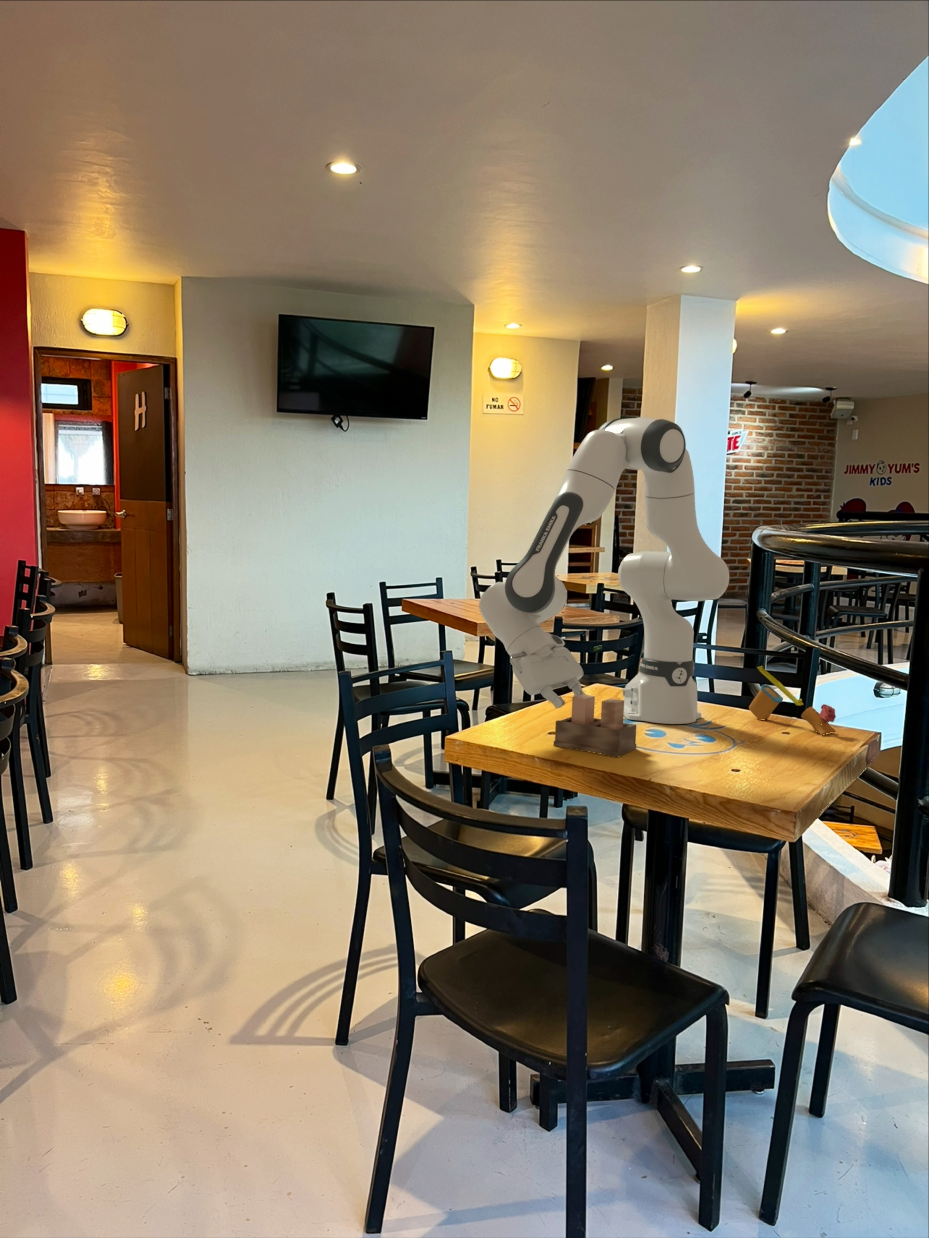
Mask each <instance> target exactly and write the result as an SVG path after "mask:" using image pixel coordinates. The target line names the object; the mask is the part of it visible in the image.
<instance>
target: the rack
mask: <svg viewBox="0 0 929 1238" xmlns="http://www.w3.org/2000/svg"><path fill="white" fill-rule="evenodd" d="M600 708H601V710H600V711H601V712H600V714H601V715H600V718H597V717H596V718H595V717H594V723H591V724H589V725H583V724H577V723H571V720H572V716H570V717H567V718H564V719H562V720H561V719H560V720H558V719H557V720H555V728H554V729H555V730H554V731H555V732H554V734H555V735H554V740H553V747H557V746H559V747H558V748H563V747H566V748H565V749H568V748H572V749H571V750H574V749H578V750H577V751H579V750H583V751H582V752H584V751H590V752H595V753H601V754H605V755H604V756H606V755H610V756H609V757H612V756H615V757H614V758H619V757H618V756H620V757H622V756H624V755H626V754H628V753H631V752H633V751H635V750H636V749H637V743H636V739H637V724H633V723H627V722H624V717H625V716H624V699H618V698H608V699H605V700H602V701H601V707H600ZM634 749H635V750H634ZM590 752H589V753H590ZM595 753H594V754H595ZM625 753H626V754H625ZM601 754H600V755H601ZM623 754H624V755H623ZM621 755H622V756H621Z"/></svg>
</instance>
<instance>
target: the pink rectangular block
mask: <svg viewBox="0 0 929 1238" xmlns="http://www.w3.org/2000/svg"><path fill="white" fill-rule="evenodd" d="M595 699H596V696H595V695H589V694H585V695H584V694H581V695H577V696H574V695H573V696H572V703H571V717H572V720H571V723H577V724H583V725H589V724H591V723H594V718H595V704H596V700H595Z"/></svg>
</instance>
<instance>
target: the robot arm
mask: <svg viewBox="0 0 929 1238" xmlns="http://www.w3.org/2000/svg"><path fill="white" fill-rule="evenodd" d="M686 443H687V442H686V438H685V434H684V432H683V430H682V427H680V425H678V423H676V422H673V421H671V420H668V419H664V418H659V419H658V418H651V417H639V416H638V417H635V418H634V417H632V418H629V417H628V418H622V417H620V418H619V417H617V418H613V419H610V420H608V421H606V422H605V423H602V425H601V426H600V427H599V428H598V429H595V430H592V431H590V432H589V433H587V434H586V436H585V437H584V439H583V440H582V441H581V443H580V444H579V446H578V448H577V449H576V451H575V453H574V455H573V456H572V458H571V460H570V462H569V464H568V466H567V468H566V471H565V473H564V474H563V475H564V476H563V478H562V480H561V483H560V485H559V488H558V490H557V493H556V495H555V498H554V500H553V501H552V504H551V506H550V508H549V509H548V511H547V513H546V515H545V517H544V519H543V521H542V522H541V525H540V527H539V528H538V530H537V533H536V535H535V537H534V538H533V541H532V543H531V545H530V547H529V549H528V550H527V551H526V554H525V555H524V556H523V557H522V559H521V560H519V562H518V563H516V564H515V565H514V566H513V568H512V569H510V571H509V573H508V574H507V576H506V579H505V581H504V582H502V581H497V582H495V583H493V584H492V585H490V586H489V587H487V588H486V590H485V591H484V592H483V594H482V595H481V596H480V600H479V601H478V609H479V613H480V614H481V617H482V618H483V621H484V622H485V623H486V625H487V627H488V628H489V630H490V632H492V634H493V635H494V636H495V637H496V638H497V640H499V641H500V642H501V643H502V644H503V646H504V648H505V651H506V652H507V654H508V655H509V663H510V665H512V672H513V674H514V675H515V678H516V679H517V680H518V683H519V684H520V685H521V687H522V689H523V690H524V691H525V692H526V693H527V694H528V695H530V696H534V695H538V694H541V695H542V698H544V699H545V700H547V701H548V702H550V703H551V704H552V705H553V706H554V708H555V709H560V708H562V707H563V706H564V705H565V704H566V700H564V699H563V697H562V696H559V695H558V694H557V693H556V692H554V691H553V690H555V689H560V688H564V687H568V688H569V690H572V693H573V697H574V696H577V695H581V694H584V695H586V693H585V692H584V690H583V688H582V684H581V682H580V679H581V678H582V677H583V676H584V675H585V674H584V670H583V668H582V666H581V664H580V663H579V662H578V660H577V659H576V657H574V655H573V653H572V652H571V651H570V650H569V649H568V648H566V647H564V646H565V644H566V642H565V641H564V640H563V638H561V637H559V636H558V635H554V634H551V633H549V632H548V631H545V630H544V629H543V628H542V627H541V624H542V623H545V622H546V621H548V620H550V619H551V618H554V617H555V616H556V615H558V614H560V613H561V611H563V609H564V608H565V606H566V603H567V600H568V591H567V588H566V586H565V584H564V582H563V581H562V580H561V579H559V578H558V577H557V576H556V569H557V565H558V563H559V562H560V559H561V557H562V556H563V553H564V552H565V551H564V550H565V549H566V547H567V545H568V543H569V541H570V539H571V536H572V535H573V533H574V532H575V531H576V530H577V529H578V528H579V527H581V526H583V525H585V524H588V523H592V522H595V521H597V520H599V519H600V518H601V517H602V515H603V514H604V512H605V511H606V510H607V508H608V506H609V504H610V503H611V500H612V498H613V497H614V493H615V492H616V489H617V486H618V484H619V480H620V479H621V476H622V473H623V472H624V470H627V469H628V470H632V471H633V470H634V471H642V473H643V476H644V477H643V479H644V480H643V485H644V486H643V488H644V489H643V492H644V493H643V494H644V515H645V519H644V520H645V526H646V528H647V530H648V531H649V533H650V534H651V535H653V536H654V537H656V538H657V539H659V540H660V541H662V542H663V543H664V544H665V545H666V546H667V548H668V550H669V551H660V550H659V551H656V550H644V551H637V552H633V553H632V552H631V553H629V554H627V555H626V556H625V557H623V559H622V561H621V562H620V565H619V567H618V572H617V578H618V582H619V584H620V586H621V589H622V590H623V592H625V593H626V594H627V595H628V596H630V598H631V599H632V600H633V601H634V603H635V604H636V606H637V608H638V610H639V612H640V615H641V618H642V622H643V630H644V631H643V632H644V636H643V637H644V648H643V649H644V651H643V657H641V658H639V660H641V661H639V668H638V671H639V672H638V673H637V674H636V675H635V676H634V677H633V678H632V679H631V680H630V681H629V682H628V683H627V684H626V685H625V687H624V688H622V696H623V700H624V716H623V717H625V718H626V719H628V720H630V721H631V720H633V721H642V722H649V723H655V724H664V725H665V724H669V725H676V724H677V725H682V724H691V723H694V722H697V720H699V719H701V718H702V712H700V711H698V685H697V683H696V681H695V680H694V679H693V676H694V672H695V660H694V659H693V656H694V655H693V652H694V651H693V650H694V635H695V632H694V627H693V625H692V624H691V623H690V621H689V620H688V619H687V618H685V617H683V616H682V615H680V614H678V613H677V612H676V611H675V609H674V607H673V603H672V600H676V601H677V600H678V601H688V602H689V601H690V602H703V601H712V600H717V599H718V600H719V598H720V597H722V596H723V595H724V593H725V592H726V591H727V589H728V586H729V584H730V571H729V568H728V565H727V564H726V562H725V561H724V559H723V558H722V557H720V556H719V555H718V554H716V553H715V552H714V551H713V550H712V549H711V547H709V545H708V544H707V543H706V541H705V540H704V538H703V537H702V534H701V531H700V529H699V526H698V520H697V512H696V499H695V498H696V497H695V496H696V494H695V493H696V491H695V490H696V489H695V478H694V471H693V464H692V459H691V457H690V453H689V451H688V449H687V444H686Z"/></svg>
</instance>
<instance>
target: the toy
mask: <svg viewBox="0 0 929 1238" xmlns="http://www.w3.org/2000/svg"><path fill="white" fill-rule="evenodd" d="M763 667H764V666H763V665H761V666H757V667H756V668H757V670H758V671H759V672H760V673H761V674H762V675H764V677H766V679H768V680H769V681H770V683H772V684H773V685H774V686H775V687H776V688H778V690H779V691H780V692H782V693H783V694H784V695H785V696H786V697H787V698H788V699H790V700H791V701H792V702H793V704H795V706H803V705H804V703H803V702H802V701H803V699H802V698H799V699H797V698H796V697H795V696H794V695H793V694H792V693H791V691H789V690H788V688H787V687H785V686H784V685H783V684H782V683H781V682H780V681H779V680H777V679H776V678H775V677H774V676H773V675H771V674H770V673H769V672H768V671H767V670H765V668H763ZM783 700H784V697H783V696H781V695H780V693H778V692H777V691H776V690H775V689H774V688H773V687H771V686H770V685H769V684H762V685H761V686H760V690H759V691H758V692H757V694H756V696H755V697H754V698H753V700H752V701H751V703H750V705H749V706H748V709H749V711H750V712H751V713H752V714H753V715H754V717H756V718H757V719H758V720H759V719H766V720H768V719H769V717H771V714H772V713H773V711H774V710H775V709H776V708H777V706H778V705H779V704H780V703H782V702H783ZM820 709H821V711H820V712H818V711H817V710H816V709H815V708H814V707H813V706H809V707H808V708H806V709H805V710H804V711H803V712H802V713H801V716H800V717H801V718H802V719H803V720H804V721H806V722H808V724H809V725H810V726H811V727H812V728H813V730H814V732H815V731H817V732H818V733H820V734H821V735H823V734H826V733H830V732H835V733H836V732H837V731H836V730H837V729H835V728H834V727H832V726H831V724H830V723H834V721H835V720H836V718H837V716H836V709H835V708H834V707H832V706H831V705H829V704H826V703H825V704H821V707H820ZM821 724H822V725H821ZM817 732H816V733H817ZM818 733H817V734H818ZM820 734H819V735H820ZM821 735H820V736H821Z"/></svg>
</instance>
